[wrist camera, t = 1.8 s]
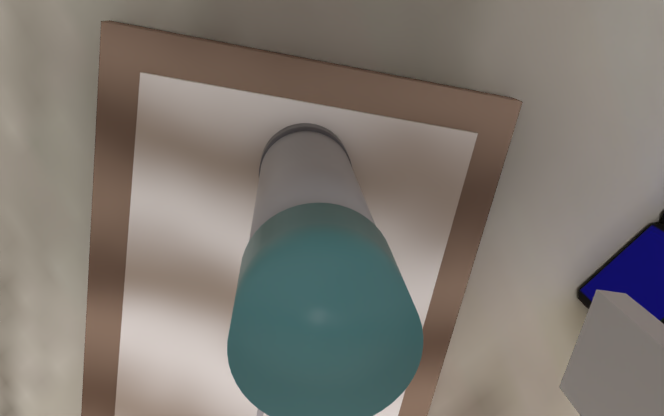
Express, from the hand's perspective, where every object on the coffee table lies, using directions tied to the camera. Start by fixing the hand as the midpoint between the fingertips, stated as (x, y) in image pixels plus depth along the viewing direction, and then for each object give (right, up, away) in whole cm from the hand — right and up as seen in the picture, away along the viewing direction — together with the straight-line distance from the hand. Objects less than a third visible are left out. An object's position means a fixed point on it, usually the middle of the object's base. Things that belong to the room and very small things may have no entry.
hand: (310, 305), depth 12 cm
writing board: (-2, -2, +13) cm, 13 cm away
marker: (-1, +4, +9) cm, 10 cm away
